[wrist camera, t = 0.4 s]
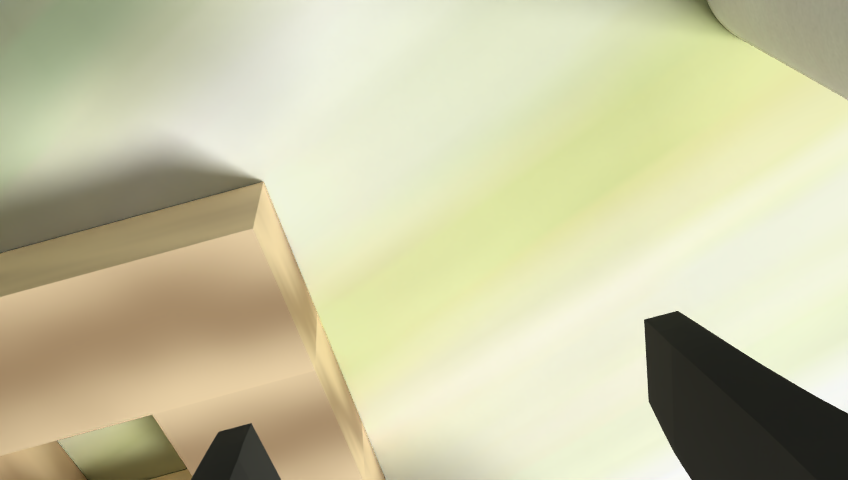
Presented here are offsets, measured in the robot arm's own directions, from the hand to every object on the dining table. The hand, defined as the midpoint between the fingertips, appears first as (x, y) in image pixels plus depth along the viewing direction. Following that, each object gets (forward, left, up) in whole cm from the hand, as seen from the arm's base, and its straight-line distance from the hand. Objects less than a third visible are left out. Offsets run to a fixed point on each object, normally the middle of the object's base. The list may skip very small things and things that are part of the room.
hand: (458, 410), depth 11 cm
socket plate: (-7, +12, -10) cm, 17 cm away
